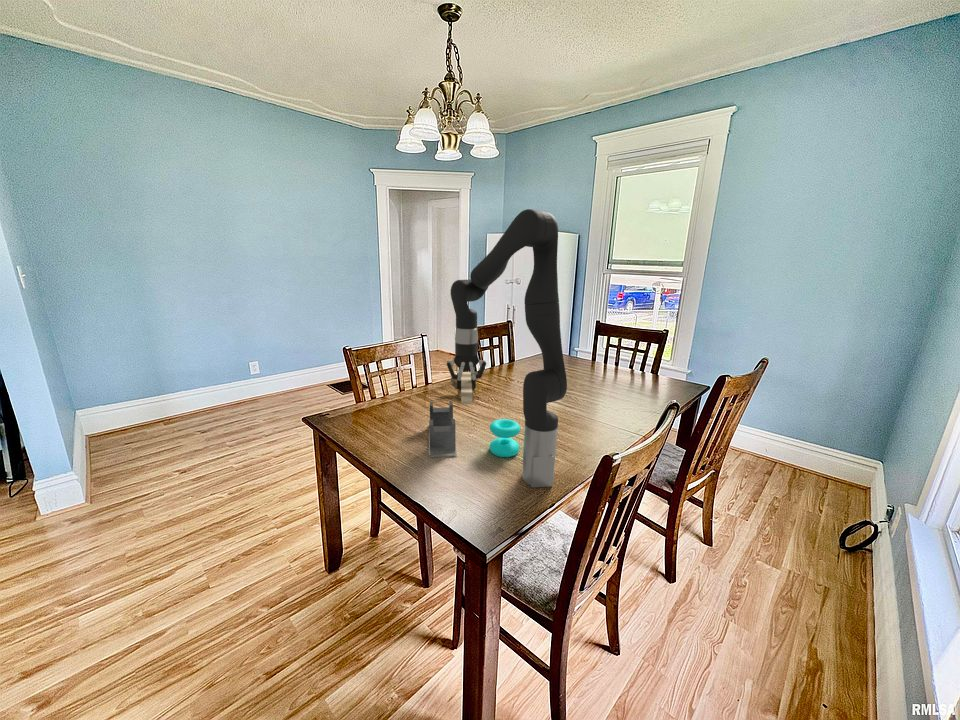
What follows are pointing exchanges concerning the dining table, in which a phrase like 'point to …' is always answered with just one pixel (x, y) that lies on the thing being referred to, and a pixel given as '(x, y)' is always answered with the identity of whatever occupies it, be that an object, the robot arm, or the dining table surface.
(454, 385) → the lion figurine
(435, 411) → the cradle bracket stand
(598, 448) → the dining table surface
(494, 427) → the turquoise hourglass-shaped piece
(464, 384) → the birch rail
